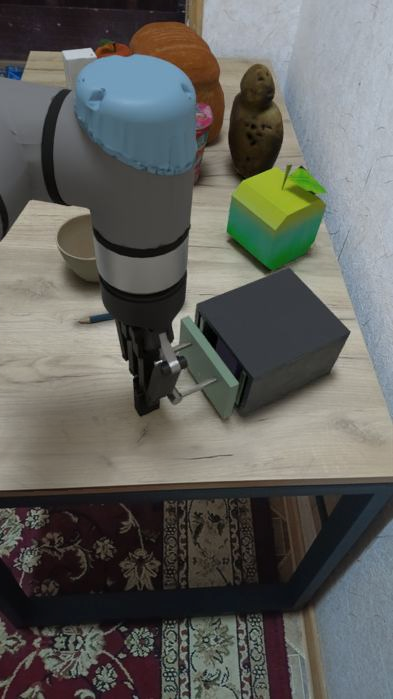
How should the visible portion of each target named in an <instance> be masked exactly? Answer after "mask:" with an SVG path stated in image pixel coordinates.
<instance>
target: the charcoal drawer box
mask: <svg viewBox="0 0 393 699" xmlns="http://www.w3.org/2000/svg"><path fill="white" fill-rule="evenodd" d="M194 313H195V314H194V321H193V322H194V323H195V324H196V326H197V327H198V329H200V320H201V317H202V316H203V318H204V319H205V320H206V322H207V323H208V324H209V326H210V327H211V328H212V330H213V331H214V332H215V334H216V335H217V336H218V337H219V339H220V340H221V341H222V343H223V344H224V345H225V347H226V348H227V349H228V351H229V352H230V353H231V355H232V356H233V357H234V359H235V360H236V361H237V362H238V364H239V365H240V366H241V368H242V369H243V370H244V372H245V373H246V374H247V376H248V381H247V385H246V388H245V392H244V395H243V399H242V403H241V404H239V405H237V404H236V403H235V402H234V406H233V409H235V411H236V413H237V414H238V415H239V417H240V418H242V419H243V418H245V417H247V416H249V415H252V414H254V412H257V411H259V410H261V409H263V408H264V407H267V406H269V405H271V404H272V403H275V402H277V401H278V400H280V399H283V398H284V397H287V396H289V395H291V394H292V393H295V392H297V391H299V390H300V389H303V388H304V387H307V386H309V385H310V384H312V383H314V382H316V381H319V380H320V379H322V378H324V377H327V376H328V375H330V374H331V372H332V370H333V368H334V366H335V364H336V362H337V360H338V358H339V357H340V355H341V353H342V350H343V348H344V347H345V345H346V343H347V341H348V338H349V337H350V335H351V333H352V331H351V330H350V329H349V328H348V327H347V326H346V325H345V324H344V323H343V322H342V321H341V319H339V318H338V317H337V315H335V313H334V312H333V311H332V310H331V309H330V308H329V307H328V306H327V305H326V304H325V303H324V302H323V301H322V300H321V299H320V297H318V296H317V295H316V294H315V293H314V292H313V290H312V289H311V288H310V287H309V286H308V285H307V284H306V283H305V282H304V281H303V279H301V278H300V277H299V276H298V275H297V274H296V273H295V272H294V271H293V269H291V268H290V267H287V268H285V269H284V268H283V269H282V270H279V271H277V272H274V273H271V274H269V275H266V276H263V277H262V278H259V279H256V280H254V281H250V282H249V283H246V284H243V285H240V286H238V287H235V288H233V289H230V290H228V291H226V292H225V291H224V292H223V293H220V294H218V295H215V296H213V297H211V298H207V299H205V300H202V301H200V302H197V303H196V304H195V312H194Z"/></svg>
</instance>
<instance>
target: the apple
mask: <svg viewBox="0 0 393 699" xmlns="http://www.w3.org/2000/svg"><path fill="white" fill-rule="evenodd" d="M292 167H293V164H287V165H286V168H285V171H283V170H282V169H281V168H279V167H278V166H275V167H272V169H270V170H267V171H265V172H263V173H260V174H258V175H255V176H253V177H251V178H248V179H247V178H245V179H243V180H242V181H241V182H240V184H239V185H238V186H237V187H236V189H235V190H234V192H232V194H231V198H230V204H229V212H228V218H227V225H226V231H225V232H226V234H228V235H229V236H230V237H231V238H233V239H234V240H235V241H236V242H237V243H238V244H240V245H241V246H242V247H243V248H244V249H245V250H246V251H247V252H249V253H250V254H251V255H252V256H253V257H254V258H256V259H257V260H258V261H259V262H260V263H262V265H263V266H265V267H266V268H267V269H269V270H271V271H275V270H277V269H280V268H281V267H283V266H285V265H286V264H289V263H291V262H292V261H294V260H296V259H298V258H300V257H302V256H303V255H305V254H306V252H308V250H309V249H310V248H311V247H312V246H313V245H314V243H315V241H316V238H317V236H318V233H319V230H320V227H321V224H322V221H323V218H324V216H325V211H326V208H327V204H326V203H325V202H324V200H323V199H322V198H320V196H318V195H322V194H328V193H329V192H328V191H327V190H326V189H325V188H324V187H323V186H322V184H320V183H319V181H318V180H317V179H316V178H315V177H314V176H313V175H312V174H311V173H310V172H309V171H308V170H307V169H306V168H305V167H304V166H303V165H302V164H301V165H300V166H299V167H298V168H297V169H295V170H293V172H291V169H292ZM290 172H291V173H290Z"/></svg>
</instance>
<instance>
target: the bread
mask: <svg viewBox="0 0 393 699" xmlns="http://www.w3.org/2000/svg"><path fill="white" fill-rule="evenodd" d="M128 48H129V49H130V51H131V54H130V56H132V55H134V54H138V55H146V56H152V57H156V58H159V59H162V60H164V61H167V62H169V63H171V64H173V65H175V66H176V67H178V68H179V69H180V70H182V71H183V72H184V73H185V74H186V75H187V76H188V78H189V79H190V81H191V83H192V84H193V87H194V90H195V94H196V103H201V104H206V105H209V106H210V107H211V111H212V115H213V121H212V123H211V125H210V129H209V133H208V137H207V141H206V144H207V143H211V142H212V141H214V140H215V139H217V137H218V136H219V134H220V133H221V130H222V127H223V124H224V120H225V118H224V117H225V110H226V102H225V92H224V90H223V86H222V85H221V82H220V76H221V68H220V65H219V62H218V60H217V58H216V56H215V54H214V53H213V52H212V50H211V48H210V46H209V44H208V43H207V41H205V39H204V38H202V37H201V36H200V35H199V34H198V33H197V32H196V31H195V30H194V29H193V28H191V27H190V26H189V25H187V24H185V23H183V22H177V21H164V22H163V21H161V22H160V21H159V22H158V21H157V22H151V23H148V24H145V25H143V26H142V27H141V28H139V29H138V30H136V32H135V33H134V34H133V36H132V38H131V39H130V42H129V44H128Z"/></svg>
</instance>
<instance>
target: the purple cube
mask: <svg viewBox="0 0 393 699" xmlns="http://www.w3.org/2000/svg"><path fill="white" fill-rule="evenodd" d="M216 353H217V354H218V356H219V357H220V358H221V360H222V361H223V362H224V364H225V365H226V366H227V368H228V369H229V370H230V372H231V373H232V374H233V376H234V377H235V378H236V380H238V379H240V376H241V372H242V370H243V369H242V368H241V366H240V365H239V364H238V362H237V361H236V360H235V359H234V357H233V356H232V355H231V353H230V352H229V351H228V349H227V348H226V347H225V345H224V344H223V343H222V341H221V340H220V339H219V337H218V340H217V346H216Z"/></svg>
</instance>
